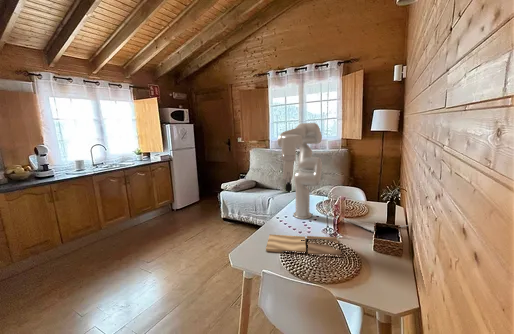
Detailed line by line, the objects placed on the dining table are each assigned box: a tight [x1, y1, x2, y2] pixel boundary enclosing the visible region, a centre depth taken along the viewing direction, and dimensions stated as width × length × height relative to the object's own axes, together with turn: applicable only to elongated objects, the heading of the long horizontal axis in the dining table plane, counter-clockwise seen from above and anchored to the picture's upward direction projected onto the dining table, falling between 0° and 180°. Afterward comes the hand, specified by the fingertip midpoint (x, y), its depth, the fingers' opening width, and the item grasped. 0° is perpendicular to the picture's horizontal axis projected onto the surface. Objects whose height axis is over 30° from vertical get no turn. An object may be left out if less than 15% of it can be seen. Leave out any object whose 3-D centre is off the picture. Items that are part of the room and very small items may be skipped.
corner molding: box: [343, 217, 410, 233], centre depth 156 cm, size 30×2×30 cm
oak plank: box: [265, 234, 307, 253], centre depth 128 cm, size 16×20×2 cm
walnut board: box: [306, 235, 342, 255], centre depth 124 cm, size 18×16×2 cm
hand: (288, 190), depth 134 cm, fingers closed
